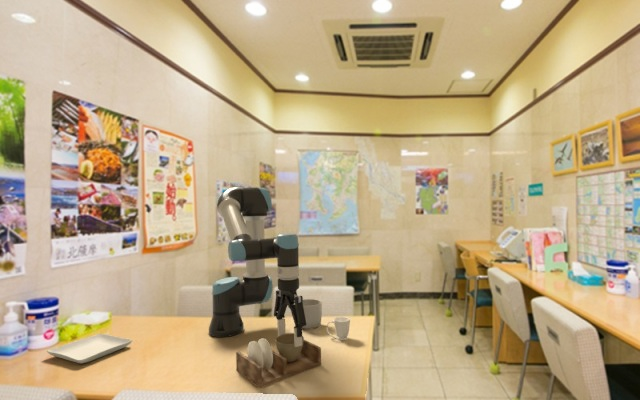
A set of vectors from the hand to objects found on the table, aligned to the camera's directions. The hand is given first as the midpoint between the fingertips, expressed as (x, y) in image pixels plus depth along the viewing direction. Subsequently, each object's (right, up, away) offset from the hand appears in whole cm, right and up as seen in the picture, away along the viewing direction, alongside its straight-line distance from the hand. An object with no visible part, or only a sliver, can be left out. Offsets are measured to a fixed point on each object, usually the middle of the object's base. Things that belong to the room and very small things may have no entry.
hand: (289, 341), depth 124 cm
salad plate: (-79, -11, +14) cm, 81 cm away
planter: (+6, -9, +39) cm, 41 cm away
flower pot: (0, -6, 0) cm, 6 cm away
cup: (+18, -8, +23) cm, 30 cm away
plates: (-9, -7, -7) cm, 13 cm away
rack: (-3, -8, -3) cm, 9 cm away
